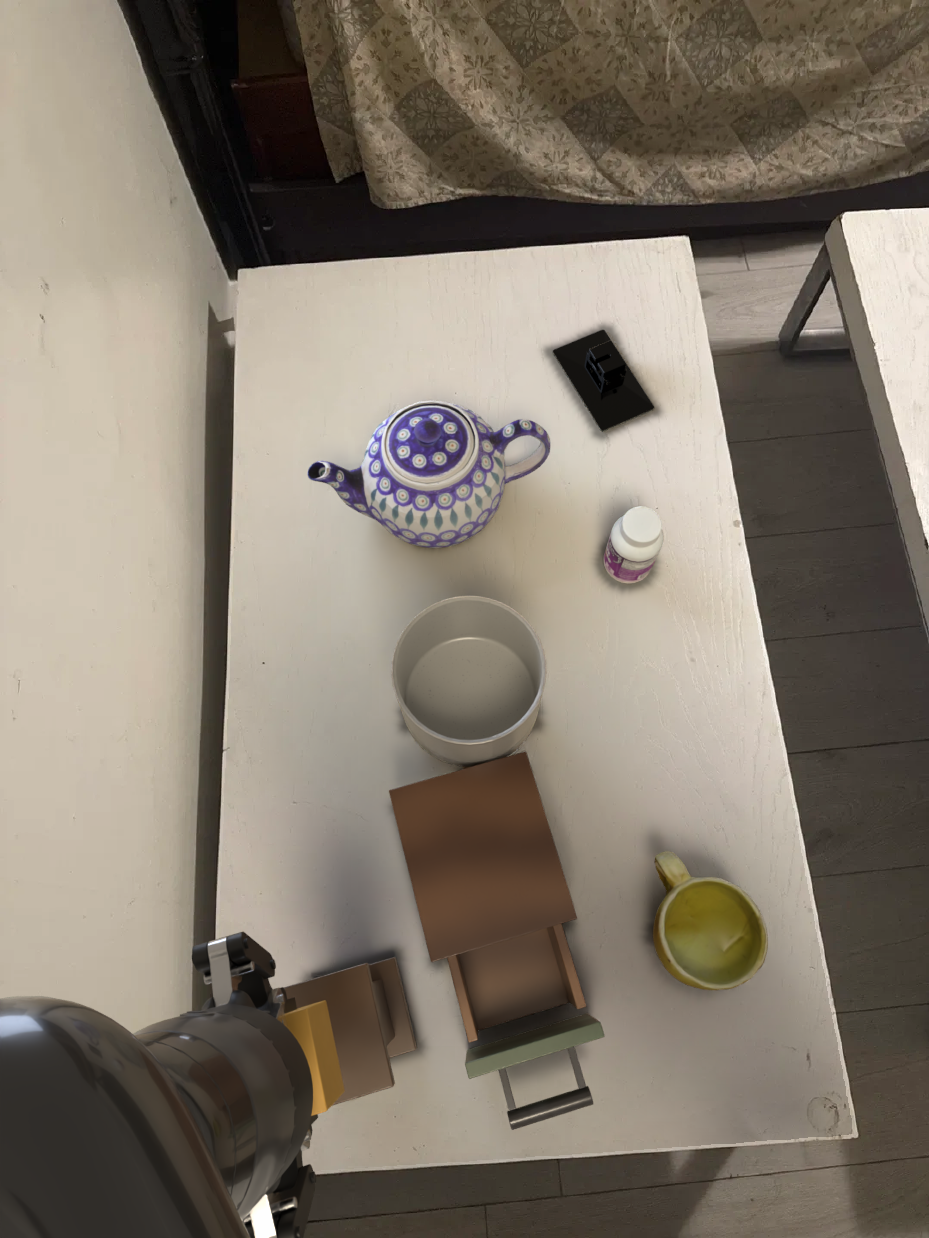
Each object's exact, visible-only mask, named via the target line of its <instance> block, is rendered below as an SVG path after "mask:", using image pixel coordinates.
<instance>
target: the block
mask: <svg viewBox="0 0 929 1238" xmlns="http://www.w3.org/2000/svg"><path fill="white" fill-rule="evenodd" d="M285 1017H286V1021H287V1025H288V1029H289V1030H290V1032H291V1033H292V1034H293V1035H294V1036H295V1038H296V1039H297V1041H298V1042H299V1044H300V1046H301V1047H302V1049H303V1051H304V1053H305V1056H306V1058H307V1061H308V1064H309V1067H310V1072H311V1076H312V1083H313V1108H312V1115H311V1116H313V1115H317V1114H318V1115H320V1114H322V1113H326V1112H327V1111H329V1109H330V1108H331V1107H332V1105H333V1104H334V1103H335V1101H336V1100H337V1099H338V1098H339V1097H340V1096H341V1095H342V1094H343V1093H344V1091H345V1090H344V1085H343V1080H342V1075H341V1070H340V1065H339V1061H338V1056H337V1051H336V1046H335V1041H334V1036H333V1032H332V1027H331V1022H330V1017H329V1012H328V1007H327V1002H326V1000H324V1001H321V1002H317V1003H314V1004H311V1005H307V1006H304V1007H301V1008H297V1009H296V1010H293V1011H291V1012H288V1013H285ZM333 1106H334V1105H333Z"/></svg>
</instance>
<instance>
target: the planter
mask: <svg viewBox="0 0 929 1238" xmlns="http://www.w3.org/2000/svg"><path fill="white" fill-rule="evenodd" d="M545 653H546V652H545V649H544V646H543V643H542V641H541V639H540V637H539V635H538V633H537V631H536V629H534V627H533V626H532V625H531V623H530V622H529V621H528V620H527V618H525V617H524V616H523V615H522V614H521V613H520V612H518V611H517V610H515V609H514V608H513V607H511V606H509V605H508V604H505V603H504V602H501V601H499V600H496V599H494V598H492V597H491V598H490V597H485V596H480V595H458V596H452V597H449V598H444V599H442V600H440V601H437V602H434V603H433V604H431V605H429V606H428V607H425V608H424V609H422V610H421V611H420V612H419V613H418V614H416V615H415V616H414V617H413V618H412V619H411V620H410V621H409V622H408V623H407V625H406V626H405V627H404V629H403V630H402V632H401V633H400V635H399V637H398V639H397V641H396V644H395V647H394V650H393V653H392V657H391V659H392V660H391V670H390V672H391V673H390V677H391V682H392V687H393V691H394V694H395V697H396V700H397V704H398V706H399V709H400V712H401V714H402V717H403V721H404V722H405V723H404V724H405V726H406V728H407V729H408V732H409V733H410V735H411V736H412V738H413V739H414V741H415V742H416V743H417V744H418V745H419V746H420V748H422V749H423V750H424V751H425V752H427V753H428V754H429V755H430V756H432V757H434V758H436V759H437V760H438V761H441V762H444V763H446V764H449V765H453V766H459V767H462V769H465V768H468V767H472V766H475V765H479V764H483V763H486V762H490V761H493V760H497V759H500V758H504V757H507V756H511V755H512V754H513V753H514V752H515V751H517V750H518V749H519V748H520V747H521V746H522V745H523V744H524V742H525V741H526V740H527V739H528V737H529V736H530V734H531V733H532V731H533V729H534V726H535V725H536V722H537V718H538V715H539V711H540V708H541V707H540V706H541V703H542V699H543V694H544V690H545V687H546V684H547V683H546V682H547V671H548V670H547V669H548V668H547V659H546V654H545Z"/></svg>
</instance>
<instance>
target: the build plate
mask: <svg viewBox="0 0 929 1238" xmlns="http://www.w3.org/2000/svg"><path fill="white" fill-rule="evenodd" d="M552 355H553V356H554V358H555V359H556V361H557V363H558V364H559V366H560V367H561V369H562V371H563V373H564V375H566V378H567V379H568V380H569V382H570V384H571V385H572V388H573V389H574V391H575V392H576V393H577V395H578V397H579V399H580V400H581V402H582V404H583V405H584V406H585V408H586V410H587V411H588V413H589V415H590V416H591V418H592V419H593V422H594V423H595V424H596V426H597V427H598V429H599V431H600V432H602V433H603V432H606V431H608V430H611V429H612V428H615V427H618V426H620V425H622V424H625V423H627V422H629V421H631V420H634V419H636V418H638V417H640V416H643V415H646V414H648V413H650V412H652V411H654V409H655V405H654V403H653V402H652V401H651V399H650V398H649V396H648V395H647V393H646V392H645V389H643V387H642V386H641V384H640V382H639V381H638V379H637V378H636V376H635V375H634V372H633V371H632V370H631V368H630V367H629V365H628V364H627V362H626V360H625V359H624V357H623V356H622V353H620V351H619V350H618V348H617V346H616V345H615V342H614V340H613V339H612V337H611V336H610V334H609V333H608V332H606V330H605V329H600V330H598V331H595V332H593V333H590V334H589V335H586V336H583V337H581V338H578V339H576V340H573V341H571V342H569V343H566V344H563V345H561V346H558V347H557V348H554V349H553V350H552Z"/></svg>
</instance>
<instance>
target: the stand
mask: <svg viewBox="0 0 929 1238" xmlns="http://www.w3.org/2000/svg"><path fill="white" fill-rule="evenodd" d="M282 987H283V986H282ZM283 988H284V989H285V990H286V995H287V999H290V998H294V997H295V1001H296V1006H297V1008H301V1007H304V1006H307V1005H311V1004H314V1003H317V1002H321V1001H324V1000H326V1002H327V1007H328V1012H329V1017H330V1022H331V1027H332V1032H333V1036H334V1041H335V1046H336V1051H337V1056H338V1061H339V1065H340V1070H341V1075H342V1080H343V1085H344V1090H345V1091H344V1093H343V1094H342V1095H341V1096H340V1097H339V1098H338V1099H337V1100H336V1101H335V1103H334V1104H333V1105H332V1106H336V1105H339V1104H342V1103H346V1102H349V1101H352V1100H356V1099H359V1098H361V1097H366V1096H367V1095H368V1096H369V1095H371V1094H374V1093H378V1092H381V1091H384V1090H388V1089H392V1088H393V1087H394V1086H395V1085H396V1082H395V1081H396V1080H395V1077H394V1072H393V1068H392V1063H391V1059H392V1058H394V1057H398V1056H401V1055H404V1054H407V1053H411V1052H414V1051H416V1050H417V1048H418V1044H417V1041H416V1037H415V1033H414V1029H413V1025H412V1020H411V1016H410V1012H409V1007H408V1003H407V999H406V995H405V990H404V986H403V982H402V977H401V974H400V969H399V965H398V961H397V957H396V956H393V957H390V958H385V959H382V960H379V961H376V962H372V963H368V962H364V963H360V964H356V965H353V966H351V967H348V968H344V969H340V970H337V971H334V972H329V973H328V974H324V975H320V976H317V977H314V978H309V979H306V980H304V981H300V982H297V983H294V984H289V985H287V986H284V987H283ZM332 1106H331V1107H332Z"/></svg>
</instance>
